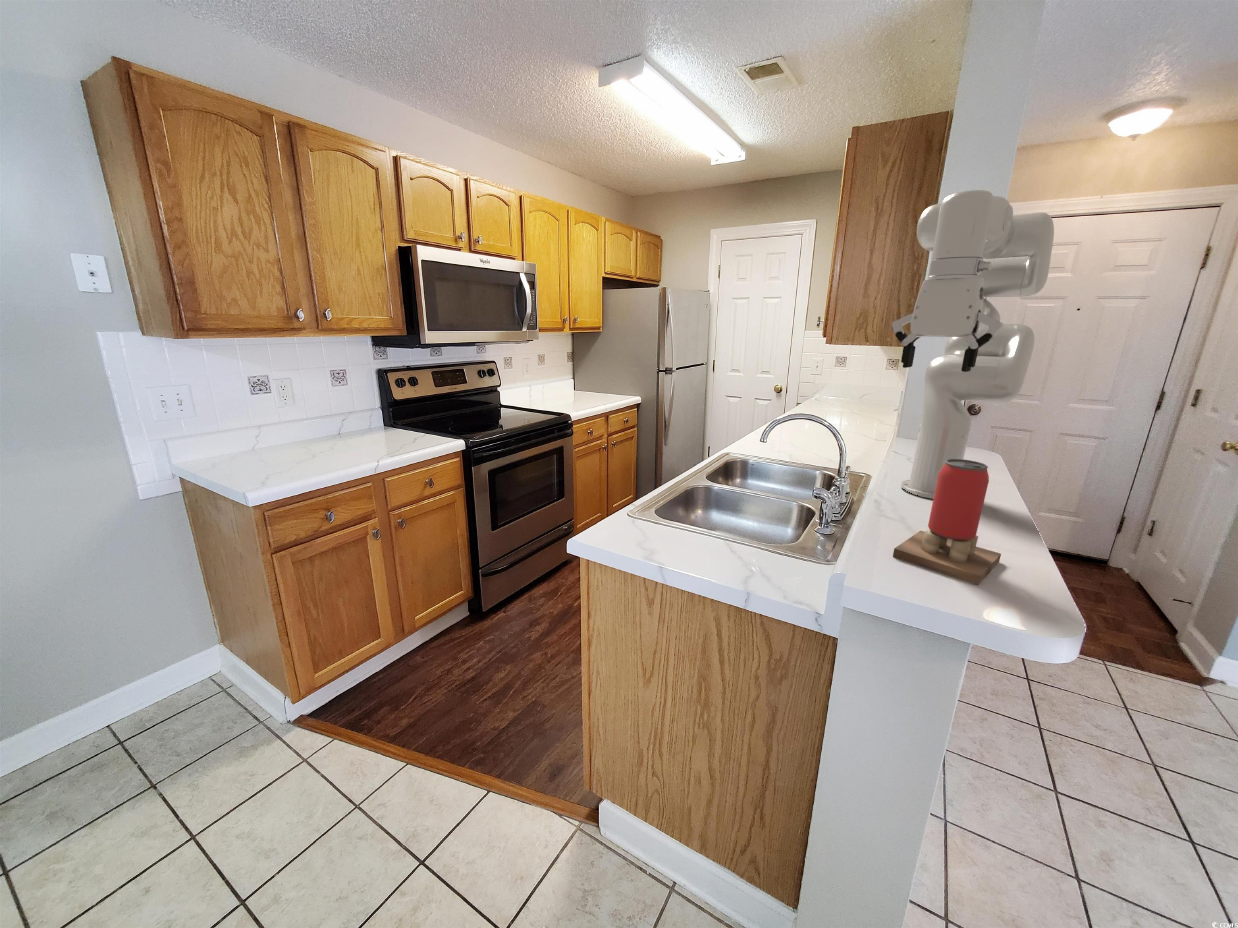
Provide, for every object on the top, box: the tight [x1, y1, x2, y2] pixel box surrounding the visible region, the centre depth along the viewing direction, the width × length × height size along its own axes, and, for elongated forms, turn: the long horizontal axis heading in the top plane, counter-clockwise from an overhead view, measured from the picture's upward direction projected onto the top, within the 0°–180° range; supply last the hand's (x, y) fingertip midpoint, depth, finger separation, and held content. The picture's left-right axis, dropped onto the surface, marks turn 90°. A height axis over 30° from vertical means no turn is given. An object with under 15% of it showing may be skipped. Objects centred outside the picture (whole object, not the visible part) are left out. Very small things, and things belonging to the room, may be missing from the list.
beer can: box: [927, 459, 990, 541], centre depth 78 cm, size 7×7×12 cm
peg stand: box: [892, 530, 1002, 586], centre depth 80 cm, size 12×12×4 cm
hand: (935, 369), depth 91 cm, fingers open, 9 cm apart
